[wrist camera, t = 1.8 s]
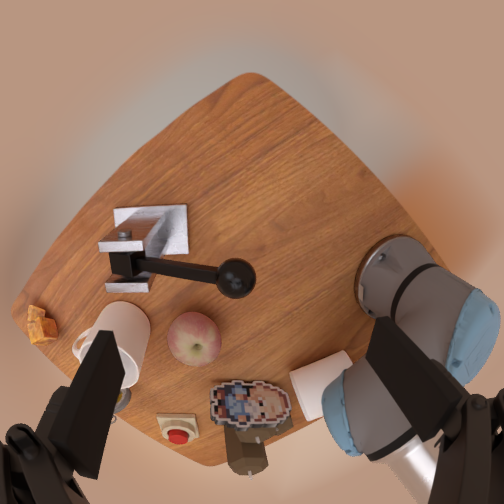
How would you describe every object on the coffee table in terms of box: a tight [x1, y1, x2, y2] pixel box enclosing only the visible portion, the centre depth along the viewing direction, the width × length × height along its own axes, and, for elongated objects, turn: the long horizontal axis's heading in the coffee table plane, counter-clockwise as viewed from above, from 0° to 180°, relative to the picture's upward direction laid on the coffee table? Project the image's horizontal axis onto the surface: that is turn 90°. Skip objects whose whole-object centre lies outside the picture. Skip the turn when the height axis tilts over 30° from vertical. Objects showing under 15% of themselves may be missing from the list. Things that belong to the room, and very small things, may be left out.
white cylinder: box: [289, 350, 353, 421], centre depth 45 cm, size 13×10×10 cm
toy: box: [210, 380, 292, 431], centre depth 43 cm, size 14×2×10 cm, turn 79°
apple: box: [167, 312, 221, 367], centre depth 38 cm, size 8×8×8 cm
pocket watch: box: [111, 388, 131, 424], centre depth 39 cm, size 8×8×10 cm
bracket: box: [98, 203, 189, 293], centre depth 30 cm, size 10×7×14 cm, turn 89°
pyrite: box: [27, 305, 59, 346], centre depth 35 cm, size 5×7×4 cm
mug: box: [72, 301, 150, 389], centre depth 35 cm, size 9×12×11 cm
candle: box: [224, 413, 293, 480], centre depth 44 cm, size 14×14×15 cm
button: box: [168, 429, 188, 444], centre depth 46 cm, size 4×4×2 cm
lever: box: [109, 250, 256, 299], centre depth 23 cm, size 14×3×3 cm, turn 89°
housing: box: [157, 413, 199, 442], centre depth 48 cm, size 8×8×3 cm
